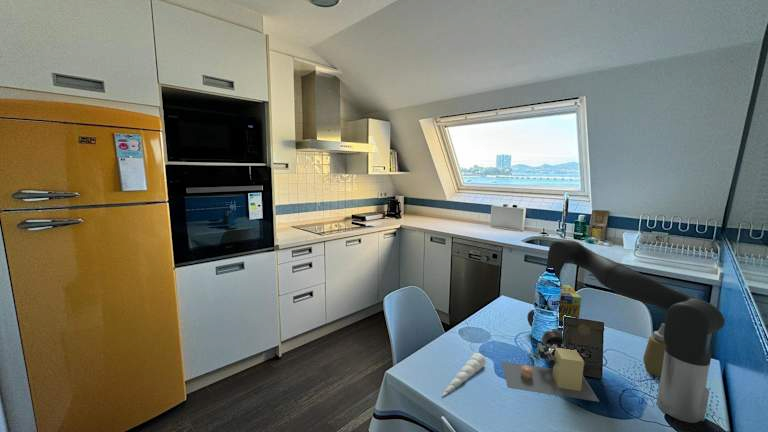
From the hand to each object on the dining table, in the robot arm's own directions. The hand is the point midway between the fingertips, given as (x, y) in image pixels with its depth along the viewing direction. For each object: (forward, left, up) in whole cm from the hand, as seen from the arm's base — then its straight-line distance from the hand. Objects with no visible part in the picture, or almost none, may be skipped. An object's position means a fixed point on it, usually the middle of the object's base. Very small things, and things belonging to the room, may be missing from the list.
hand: (568, 365), depth 101 cm
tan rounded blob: (+12, 0, -6) cm, 13 cm away
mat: (+6, 0, -6) cm, 9 cm away
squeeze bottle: (-33, -14, -7) cm, 36 cm away
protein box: (-12, -47, -7) cm, 49 cm away
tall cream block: (0, 0, -6) cm, 6 cm away
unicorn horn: (+32, +5, -7) cm, 33 cm away
